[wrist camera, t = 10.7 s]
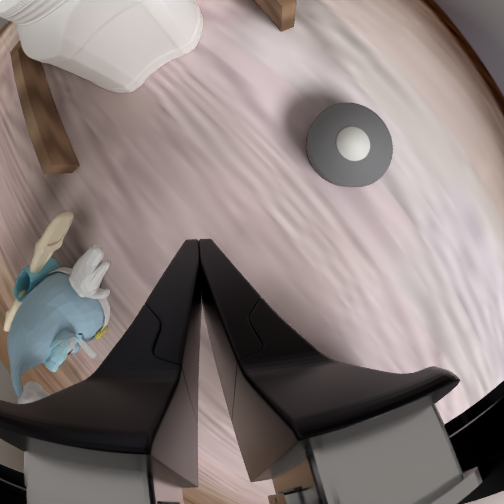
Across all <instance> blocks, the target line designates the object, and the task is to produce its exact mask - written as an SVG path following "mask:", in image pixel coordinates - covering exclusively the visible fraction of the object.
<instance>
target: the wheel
mask: <svg viewBox="0 0 504 504" xmlns="http://www.w3.org/2000/svg"><path fill="white" fill-rule="evenodd" d="M306 151H307V156H308V159H309V161H310V163H311V165H312V167H313V168H314V170H315V171H316V172H317V173H318V174H319V175H320V176H321V177H322V178H323V179H325V180H326V181H328V182H330V183H332V184H335V185H338V186H346V187H362V186H367V185H370V184H372V183H374V182H375V181H377V180H378V179H380V178H381V177H382V176H383V175H384V173H385V172H386V171H387V169H388V167H389V165H390V162H391V159H392V154H393V145H392V139H391V135H390V133H389V130H388V128H387V126H386V125H385V123H384V122H383V120H382V119H381V118H380V117H379V116H378V115H377V114H376V113H375V112H373V111H372V110H370V109H369V108H367V107H365V106H362V105H359V104H355V103H339V104H335V105H333V106H330V107H329V108H327V109H325V110H324V111H323V112H322V113H321V114H320V115H319V116H318V117H317V119H316V120H315V122H314V123H313V125H312V126H311V128H310V130H309V132H308V135H307V140H306Z"/></svg>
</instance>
